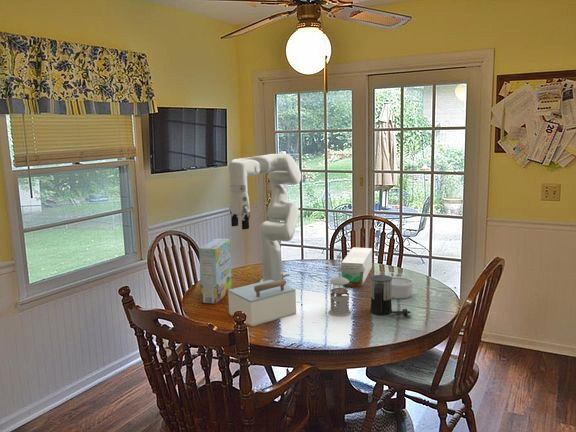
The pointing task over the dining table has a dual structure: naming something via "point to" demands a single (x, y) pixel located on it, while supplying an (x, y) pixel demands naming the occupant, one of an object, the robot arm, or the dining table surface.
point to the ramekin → (401, 287)
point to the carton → (264, 307)
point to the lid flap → (262, 290)
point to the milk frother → (382, 295)
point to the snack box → (215, 270)
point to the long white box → (359, 260)
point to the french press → (339, 297)
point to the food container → (353, 276)
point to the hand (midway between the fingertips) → (240, 227)
